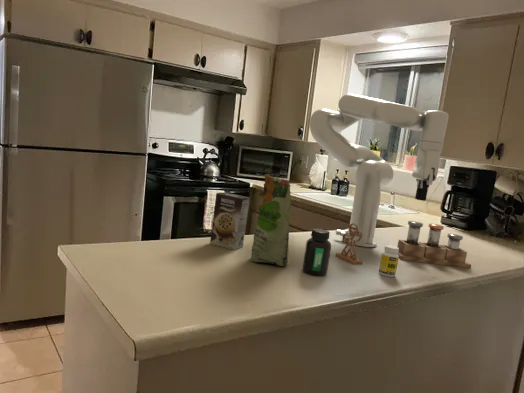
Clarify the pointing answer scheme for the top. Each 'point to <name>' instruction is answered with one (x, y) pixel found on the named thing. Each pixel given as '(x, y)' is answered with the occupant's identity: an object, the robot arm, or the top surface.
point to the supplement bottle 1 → (317, 253)
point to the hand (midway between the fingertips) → (420, 199)
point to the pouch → (273, 223)
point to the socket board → (432, 254)
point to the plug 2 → (454, 241)
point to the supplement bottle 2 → (389, 261)
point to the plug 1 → (413, 232)
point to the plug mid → (434, 235)
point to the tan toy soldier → (343, 254)
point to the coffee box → (229, 220)
